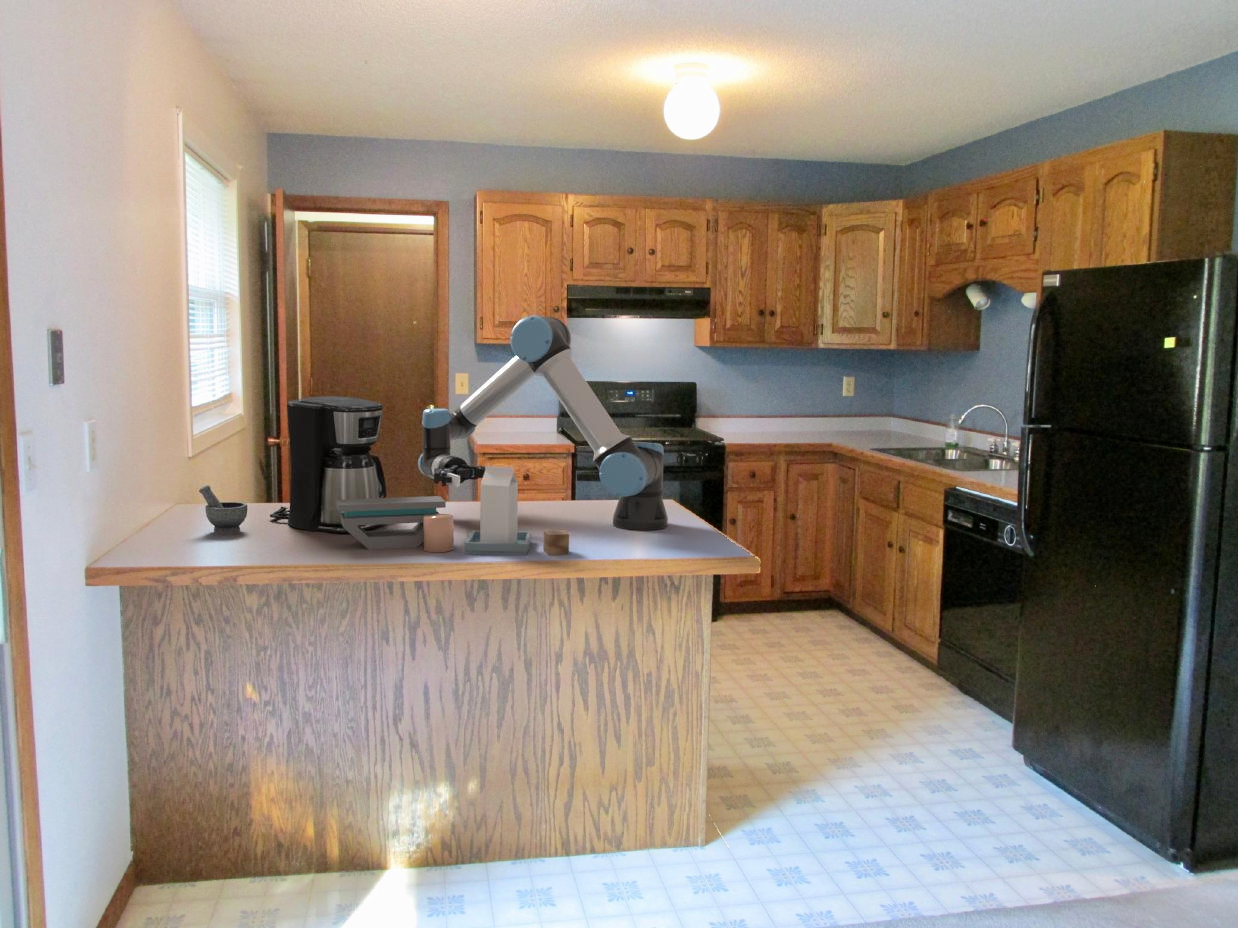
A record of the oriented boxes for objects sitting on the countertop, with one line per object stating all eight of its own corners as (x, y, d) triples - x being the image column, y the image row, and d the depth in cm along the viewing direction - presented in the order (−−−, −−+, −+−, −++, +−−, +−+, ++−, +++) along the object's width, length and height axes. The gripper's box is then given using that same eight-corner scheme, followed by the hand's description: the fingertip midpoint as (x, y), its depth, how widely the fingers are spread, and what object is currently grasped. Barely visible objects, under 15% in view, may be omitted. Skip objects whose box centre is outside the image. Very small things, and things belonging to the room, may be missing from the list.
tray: (530, 541, 247) (530, 531, 246) (527, 554, 232) (527, 544, 232) (471, 540, 246) (472, 530, 246) (464, 553, 232) (464, 542, 231)
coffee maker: (370, 536, 249) (369, 402, 244) (245, 531, 251) (241, 398, 246) (396, 519, 271) (395, 396, 267) (281, 515, 273) (278, 393, 269)
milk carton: (508, 548, 235) (509, 469, 233) (479, 546, 236) (480, 467, 234) (517, 542, 242) (518, 465, 240) (489, 540, 243) (490, 464, 241)
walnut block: (563, 550, 239) (564, 529, 238) (568, 554, 234) (569, 534, 234) (543, 551, 237) (543, 530, 237) (548, 555, 233) (548, 534, 232)
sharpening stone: (439, 538, 248) (439, 496, 246) (445, 545, 240) (445, 501, 239) (336, 543, 239) (335, 499, 238) (339, 550, 232) (338, 505, 230)
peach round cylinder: (457, 546, 239) (456, 514, 238) (448, 552, 232) (448, 519, 231) (429, 545, 240) (428, 513, 239) (420, 551, 233) (419, 518, 232)
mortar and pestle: (249, 527, 255) (248, 481, 253) (246, 535, 246) (244, 487, 244) (202, 529, 252) (201, 482, 250) (197, 536, 243) (195, 488, 241)
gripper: (493, 480, 272) (528, 490, 255) (406, 486, 259) (437, 498, 241) (492, 453, 271) (528, 462, 254) (405, 458, 258) (436, 467, 240)
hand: (484, 479), depth 247 cm, fingers open, 13 cm apart
